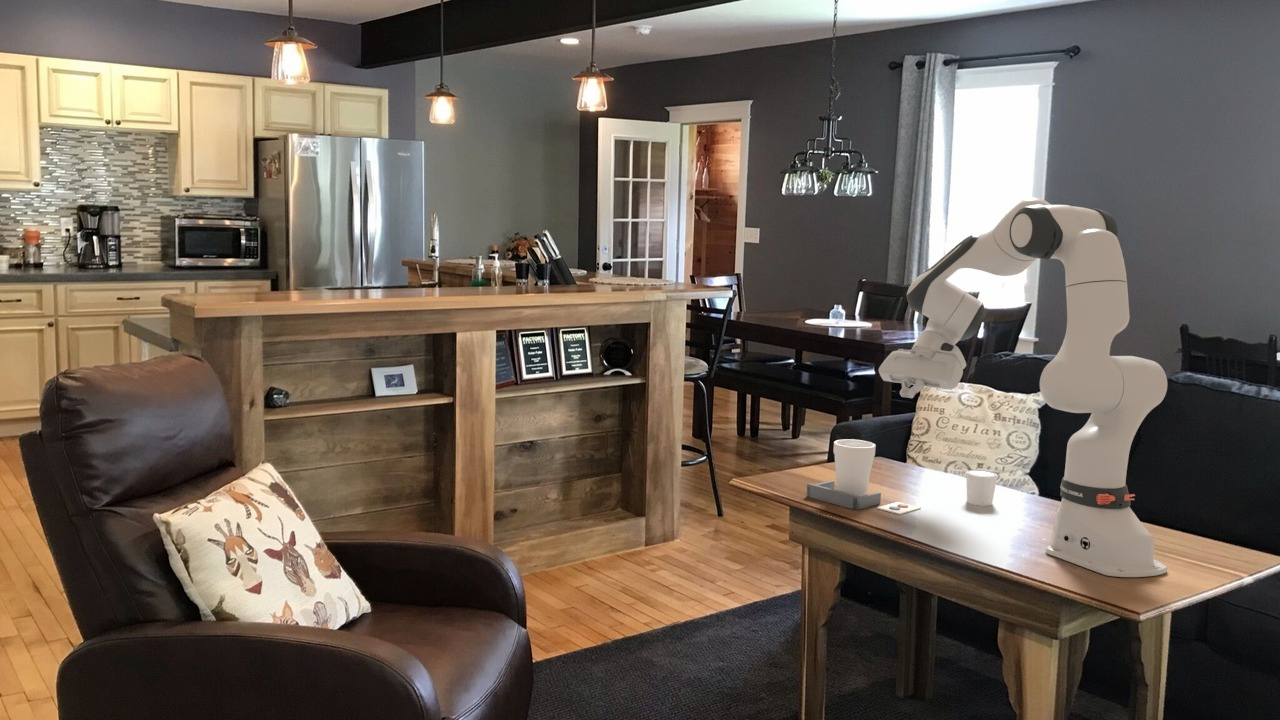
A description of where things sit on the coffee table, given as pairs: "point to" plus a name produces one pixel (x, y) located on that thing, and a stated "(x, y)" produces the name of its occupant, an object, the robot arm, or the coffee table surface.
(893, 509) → the card
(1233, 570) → the coffee table surface
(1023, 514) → the coffee table surface
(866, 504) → the grey cup holder
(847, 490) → the foam cup
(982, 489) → the shot glass
